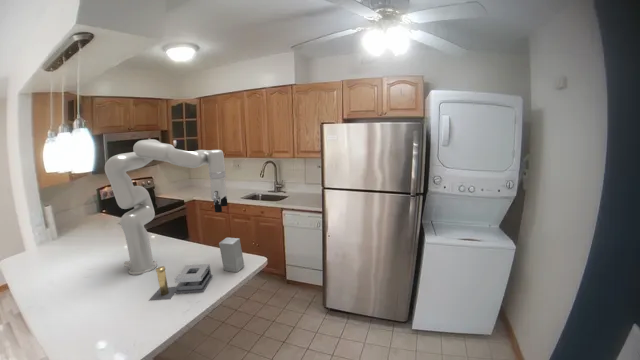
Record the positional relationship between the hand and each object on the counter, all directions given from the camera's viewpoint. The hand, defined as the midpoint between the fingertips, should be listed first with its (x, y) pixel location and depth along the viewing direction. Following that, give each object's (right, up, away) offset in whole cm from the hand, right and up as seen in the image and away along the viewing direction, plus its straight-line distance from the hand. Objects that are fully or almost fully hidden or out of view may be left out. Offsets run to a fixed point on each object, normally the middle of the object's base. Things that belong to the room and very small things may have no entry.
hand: (221, 208), depth 134 cm
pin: (-19, -35, -17) cm, 43 cm away
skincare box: (+5, -31, +2) cm, 31 cm away
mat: (-19, -36, -17) cm, 44 cm away
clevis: (-8, -34, -12) cm, 37 cm away
